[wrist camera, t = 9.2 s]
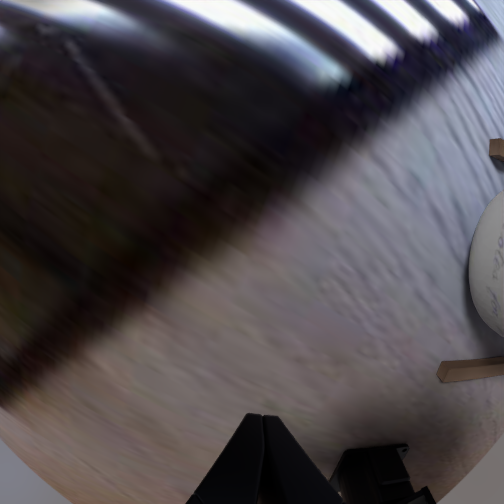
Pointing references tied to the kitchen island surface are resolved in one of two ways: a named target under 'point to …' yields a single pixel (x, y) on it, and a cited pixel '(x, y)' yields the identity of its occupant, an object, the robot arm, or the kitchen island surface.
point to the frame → (475, 367)
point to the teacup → (489, 265)
